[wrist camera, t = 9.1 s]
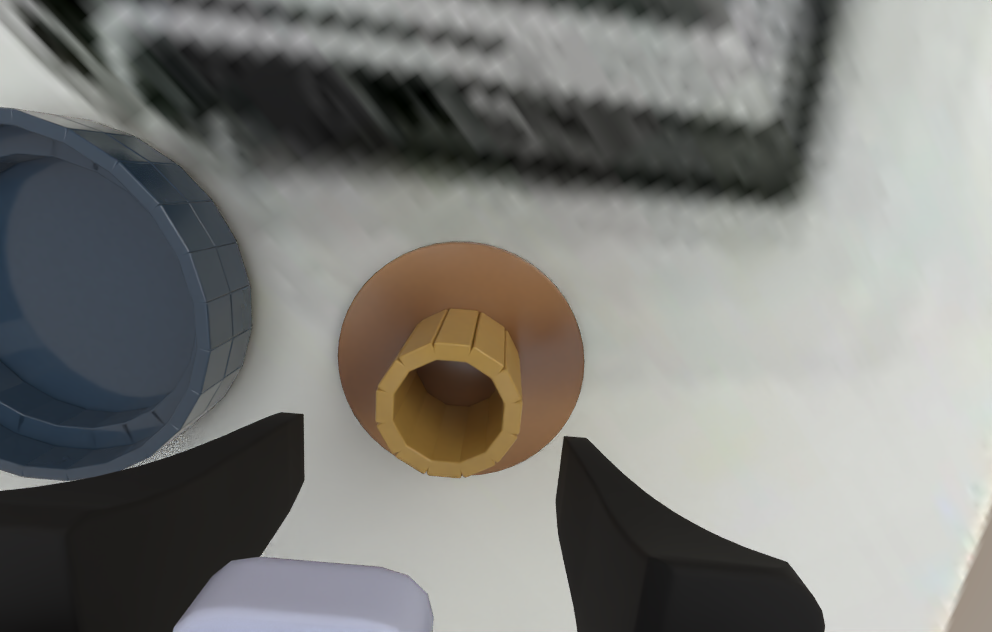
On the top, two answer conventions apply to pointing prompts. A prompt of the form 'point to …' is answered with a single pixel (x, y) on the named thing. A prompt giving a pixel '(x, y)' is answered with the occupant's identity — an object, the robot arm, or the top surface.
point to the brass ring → (449, 428)
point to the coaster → (507, 300)
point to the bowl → (107, 299)
